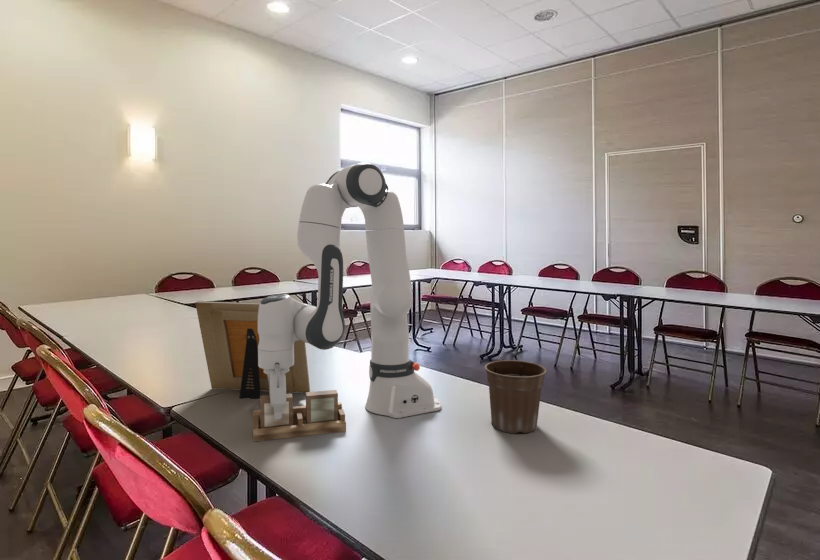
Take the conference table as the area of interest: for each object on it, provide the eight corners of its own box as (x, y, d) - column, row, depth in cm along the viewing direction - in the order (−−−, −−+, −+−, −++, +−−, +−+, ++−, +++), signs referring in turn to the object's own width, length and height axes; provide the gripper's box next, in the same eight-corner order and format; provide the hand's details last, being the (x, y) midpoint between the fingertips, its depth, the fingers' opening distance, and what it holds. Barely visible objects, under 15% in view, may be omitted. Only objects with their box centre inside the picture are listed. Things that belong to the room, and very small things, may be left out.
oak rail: (340, 419, 133) (341, 402, 133) (346, 431, 126) (346, 412, 125) (253, 428, 126) (253, 410, 126) (253, 441, 119) (253, 421, 118)
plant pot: (473, 428, 129) (475, 369, 127) (495, 410, 143) (497, 356, 141) (533, 443, 121) (536, 380, 119) (550, 421, 134) (553, 365, 133)
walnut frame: (292, 422, 127) (291, 393, 126) (293, 427, 124) (292, 397, 123) (260, 426, 125) (259, 396, 124) (260, 431, 122) (259, 400, 121)
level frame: (336, 418, 130) (336, 389, 130) (337, 422, 127) (337, 393, 127) (305, 421, 128) (305, 392, 127) (307, 426, 125) (306, 396, 124)
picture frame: (310, 392, 155) (309, 300, 152) (300, 403, 146) (299, 305, 143) (213, 387, 159) (211, 297, 156) (197, 398, 149) (194, 301, 146)
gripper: (291, 368, 114) (292, 425, 115) (286, 348, 133) (287, 397, 134) (263, 370, 112) (265, 428, 113) (262, 349, 131) (263, 399, 132)
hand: (277, 411), depth 124 cm, fingers open, 8 cm apart
